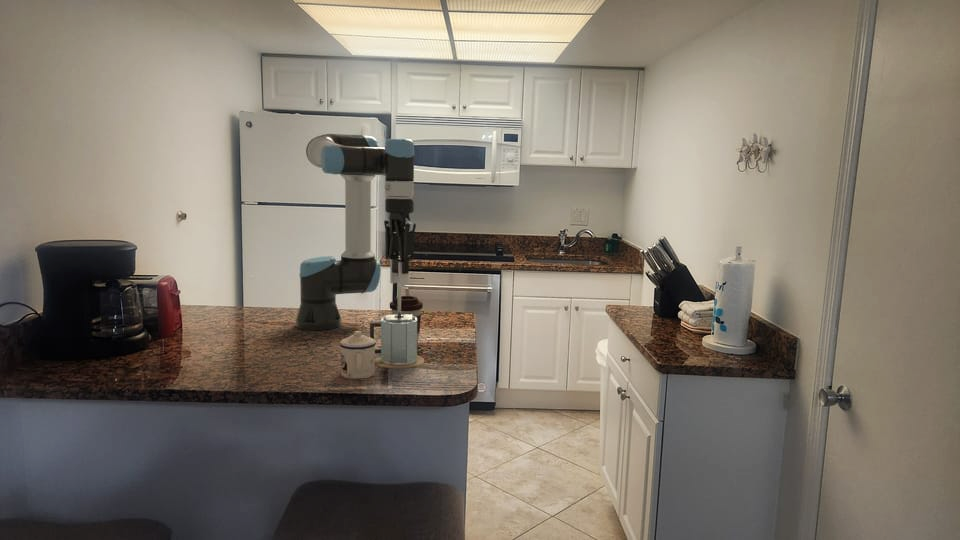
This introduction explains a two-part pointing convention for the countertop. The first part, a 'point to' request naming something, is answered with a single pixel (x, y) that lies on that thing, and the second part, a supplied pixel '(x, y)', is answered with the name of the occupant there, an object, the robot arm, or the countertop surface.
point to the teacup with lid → (357, 356)
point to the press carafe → (397, 340)
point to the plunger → (395, 270)
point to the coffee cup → (409, 308)
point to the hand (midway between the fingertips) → (399, 283)
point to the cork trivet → (379, 363)
